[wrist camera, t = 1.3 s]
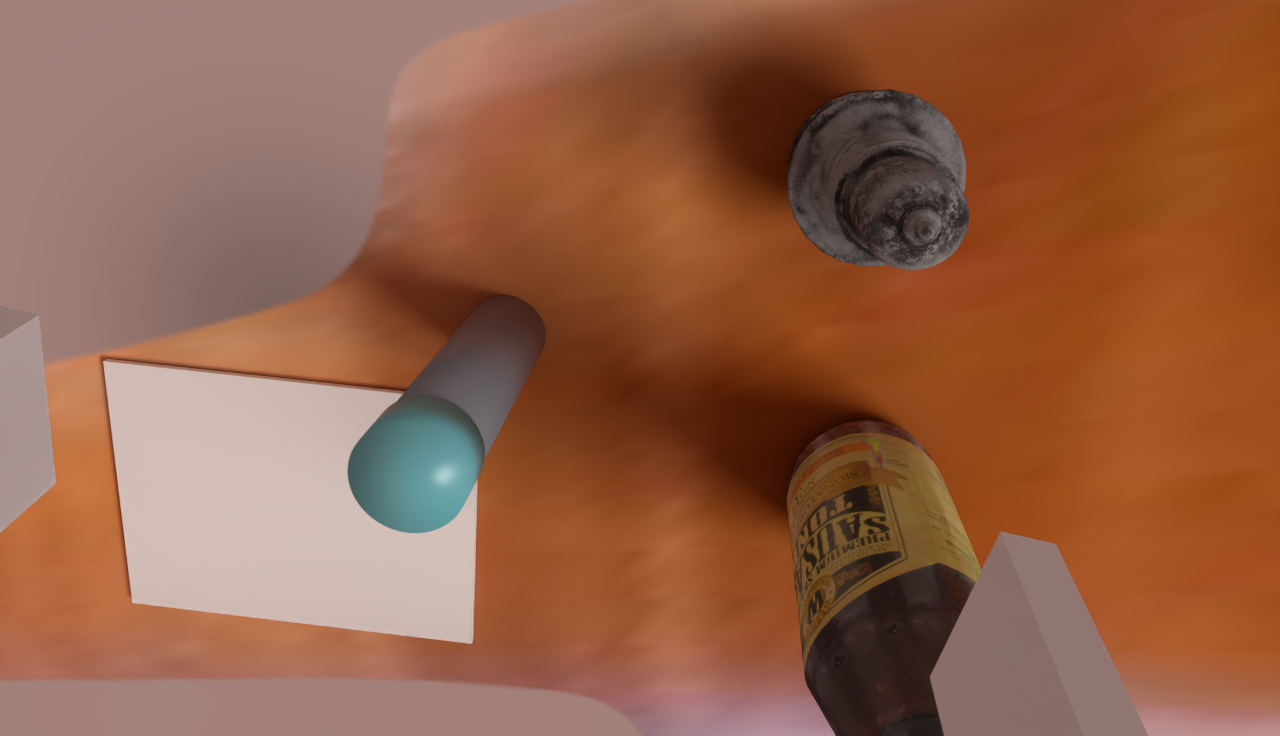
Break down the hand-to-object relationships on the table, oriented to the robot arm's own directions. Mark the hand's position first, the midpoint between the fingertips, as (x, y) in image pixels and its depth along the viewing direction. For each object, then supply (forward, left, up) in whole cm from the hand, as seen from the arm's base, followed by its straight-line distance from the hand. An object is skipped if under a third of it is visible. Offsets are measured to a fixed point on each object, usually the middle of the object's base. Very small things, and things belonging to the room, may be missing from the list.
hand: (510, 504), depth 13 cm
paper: (-15, +14, -25) cm, 32 cm away
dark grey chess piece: (+2, -8, -25) cm, 26 cm away
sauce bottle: (-11, -10, -25) cm, 29 cm away
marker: (-6, +5, -25) cm, 26 cm away
